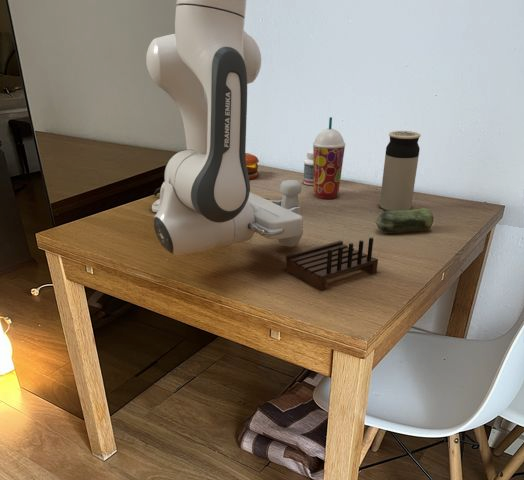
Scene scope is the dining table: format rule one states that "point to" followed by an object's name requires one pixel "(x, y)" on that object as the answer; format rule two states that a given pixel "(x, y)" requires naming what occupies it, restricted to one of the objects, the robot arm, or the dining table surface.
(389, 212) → the vegetable
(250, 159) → the hamburger
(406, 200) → the travel mug
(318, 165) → the smoothie
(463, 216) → the dining table surface
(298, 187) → the salt shaker
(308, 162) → the pill bottle
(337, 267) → the drying rack
